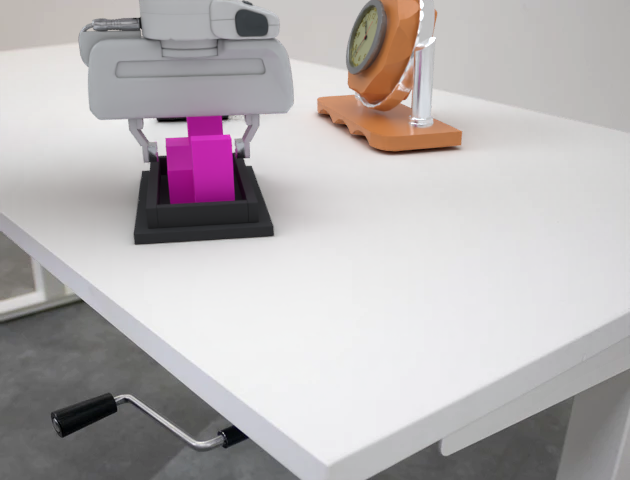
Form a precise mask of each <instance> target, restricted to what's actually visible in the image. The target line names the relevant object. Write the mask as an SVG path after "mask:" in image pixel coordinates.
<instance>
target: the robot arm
mask: <svg viewBox="0 0 630 480" xmlns="http://www.w3.org/2000/svg"><path fill="white" fill-rule="evenodd" d="M138 6H139V17H121V18H113V19H110V18H109V19H108V18H104V17H102V18H93V19H92V20H91V22H90V23H87V24H86V25H84V26H83V27H82V28H81V30H80V31H79V34H78V40H77V41H78V48H79V49H78V50H79V56H80V58H81V61H82V62H83V64H84V65H85V66H86V67H87V68H88V70H87V96H88V97H87V98H88V108H89V111H90V113H91V114H92V115H93V116H94V117H95V118H96V119H97V120H100V121H115V120H127V123H128V131H129V132H130V134H131V135H132V136H133V138H134V139H135V140H136V142H137V143H138V145H139V146H140V147H141V148H142V149H141V150H142V161H143V163H144V164H150V162H158V156H159V152H158V141H149V140H148V138H147V137H146V135H145V134H144V132H143V131H142V130H143V129H144V122H145V121H144V119H156V118H172V117H200V116H228V115H229V116H243V117H244V122H245V125H246V126H247V127H246V129H245V131H244V133H243V135H242V137H240V138H234V139H233V140H234V147H235V149H234V152H235V156H236V159H240V158H244V159H251V143H252V141H253V139H254V137H255V135H256V133H257V132H258V130H259V128H260V126H261V124H260V123H261V121H260V115H280V114H281V115H282V114H287V113H289V111H290V110H291V109H292V107H293V106H294V104H295V92H294V80H293V72H292V66H291V61H290V57H289V53H288V51H287V48H286V47H285V46H284V45H283V43H282V42H281V41H280V40H279V39H278V38H277V37H278V36H279V35H280V31H281V30H280V28H281V21H280V17H279V15H277V13H275V11H272V10H271V9H267V8H265V7H261V6H258V5H255V4H253V3H252V2H251V1H248V0H138ZM90 29H92V30H90Z"/></svg>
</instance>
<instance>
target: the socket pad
mask: <svg viewBox="0 0 630 480" xmlns="http://www.w3.org/2000/svg"><path fill="white" fill-rule="evenodd" d="M232 156H233V175H234V194H235V201H218V202H200V203H181V204H170V194H169V183H168V172H167V171H168V169H167V155H158V162H149V170H142V171H141V173H140V174H141V176H140V182H139V189H138V190H139V191H138V198H137V206H136V214H135V220H134V227H133V229H134V230H133V241H134V244H135V245H142V244H143V245H144V244H158V243H159V244H162V243H176V242H177V243H178V242H191V241H193V242H194V241H207V240H208V241H209V240H225V239H227V240H228V239H242V238H258V237H272V236H275V233H274V230H275V229H274V224H273V222H272V219H271V216H270V212H269V210H268V206H267V204H266V201H265V199H264V195H263V193H262V190H261V188H260V185H259V182H258V179H257V177H256V173H255V171H254V168H253V165H247V164H246V161H245V158H240V159H236V156H235V151H234V152H232Z"/></svg>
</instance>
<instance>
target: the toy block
mask: <svg viewBox="0 0 630 480" xmlns="http://www.w3.org/2000/svg"><path fill="white" fill-rule="evenodd" d="M186 118H187V119H186V127H187V136H182V137H181V136H179V137H165V152H166V155H167V169H168V171H167V172H168V183H169V194H170V204H181V203H200V202H218V201H235V194H234V175H233V156H232V153H233V140H232V136H231V134H230V133H229V134H227V133H226V134H224V127H223V125H224V124H223V118H222V116H200V117H186ZM166 155H165V156H166Z"/></svg>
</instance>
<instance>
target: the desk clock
mask: <svg viewBox="0 0 630 480" xmlns="http://www.w3.org/2000/svg"><path fill="white" fill-rule="evenodd" d="M437 18H438V10H436V8H435V3H434V0H369V1H368V2H366V3H365V5H364V6H363V7H361V9H360V11H359V13H358V15H357V16H356V18H355V21H354V23H353V25H352V28H351V30H350V33H349V37H348V42H347V45H346V51H345V52H346V53H345V64H346V69H347V85H348V89H350V90H352V91H354V94H345V95H344V94H342V95H329V96H326V95H325V96H320V97H318V98H317V99H316V111H317V114H319V115H320V114H321V115H329V116H330V118H331V121H332V123H333V124H339V125H346V127H347V129H348V131H349V134H350V135H356V136H364V137H365V139H366V140H367V142H368V146H369V147H372V148H374V149H377V150H381V151H386V152H393V153H395V152H401V151H412V150H423V149H425V150H426V149H436V148H440V149H441V148H448V147H458V146H462V142H463V141H462V139H463V130H461V129H458V128H456V127H454V126H451V125H450V124H447V123H445V122H443V121H441V120H438V119H436V118H434V116H432V102H433V101H432V100H433V86H434V85H433V84H434V69H435V54H436V38H437V37H436V36H434V32H435V28H436V27H435V26H436V22H437ZM410 94H411V104H410V105H411V106H407V105H405V104H403V103H402V102H403V101H406V100H407V99H408V98H409V96H410Z"/></svg>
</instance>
